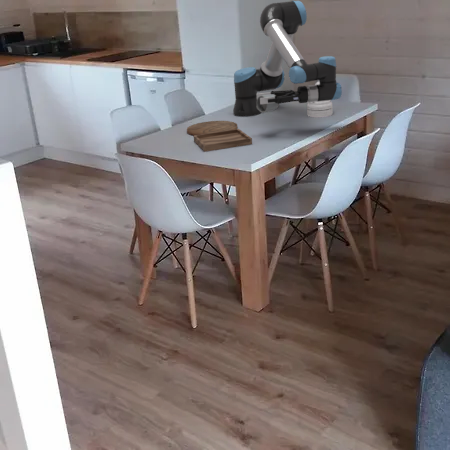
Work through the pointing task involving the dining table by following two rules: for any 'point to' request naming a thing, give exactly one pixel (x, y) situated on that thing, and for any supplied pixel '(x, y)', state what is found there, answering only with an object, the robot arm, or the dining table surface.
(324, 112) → the honey pot
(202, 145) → the walnut tray
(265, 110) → the ceramic mug
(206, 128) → the trivet
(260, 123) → the dining table surface
